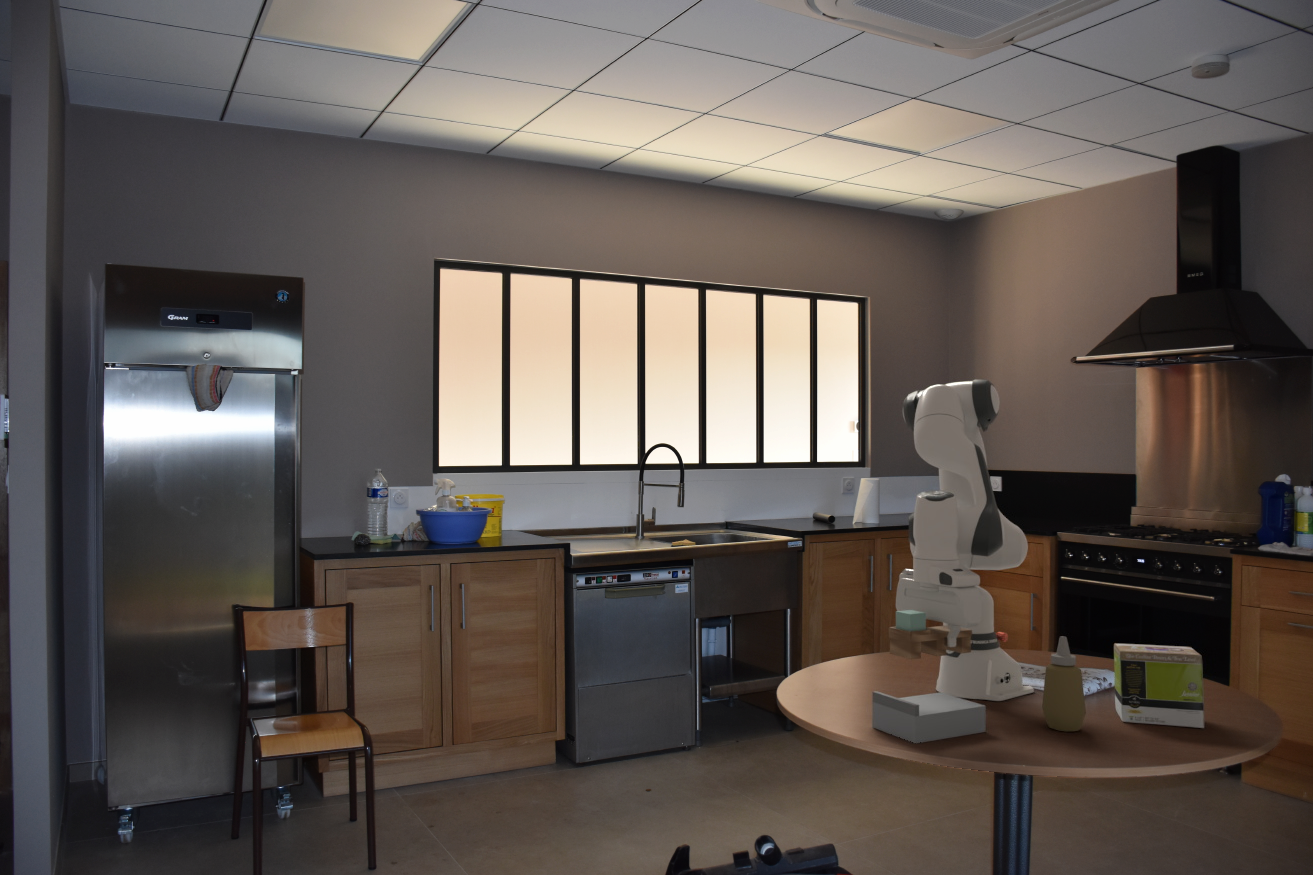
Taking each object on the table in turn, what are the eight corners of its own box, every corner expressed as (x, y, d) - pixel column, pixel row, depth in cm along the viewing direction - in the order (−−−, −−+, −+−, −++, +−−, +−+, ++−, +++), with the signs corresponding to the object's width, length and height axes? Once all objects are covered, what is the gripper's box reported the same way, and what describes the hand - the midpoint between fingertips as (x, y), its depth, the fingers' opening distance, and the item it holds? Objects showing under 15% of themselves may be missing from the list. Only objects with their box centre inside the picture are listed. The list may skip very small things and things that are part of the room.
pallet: (949, 646, 190) (949, 621, 191) (971, 652, 185) (971, 625, 185) (888, 653, 183) (888, 627, 183) (910, 659, 178) (910, 632, 178)
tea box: (1193, 717, 194) (1193, 645, 195) (1204, 730, 185) (1204, 654, 185) (1113, 710, 199) (1113, 640, 200) (1120, 722, 190) (1120, 649, 190)
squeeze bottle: (1083, 736, 180) (1082, 642, 180) (1038, 729, 184) (1037, 637, 184) (1088, 726, 186) (1088, 635, 187) (1045, 720, 191) (1045, 631, 191)
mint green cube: (911, 630, 185) (911, 609, 185) (925, 633, 181) (925, 612, 181) (895, 631, 183) (895, 611, 183) (910, 635, 179) (909, 614, 179)
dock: (940, 716, 193) (940, 682, 193) (985, 731, 182) (985, 695, 182) (872, 727, 185) (872, 691, 185) (915, 743, 174) (915, 705, 174)
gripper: (888, 568, 193) (888, 635, 193) (962, 579, 175) (962, 653, 175) (911, 566, 196) (911, 633, 196) (986, 577, 178) (987, 650, 177)
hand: (936, 643), depth 185 cm, fingers closed on pallet, 6 cm apart
